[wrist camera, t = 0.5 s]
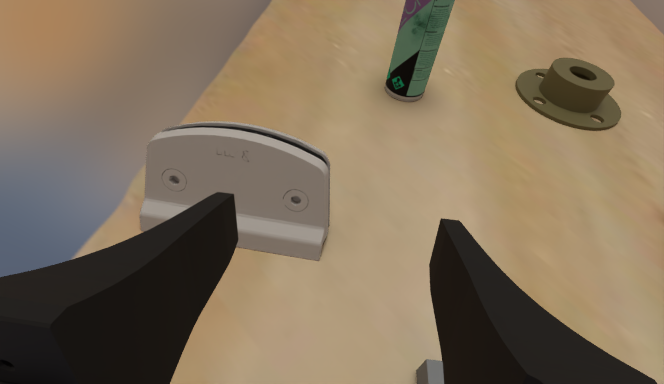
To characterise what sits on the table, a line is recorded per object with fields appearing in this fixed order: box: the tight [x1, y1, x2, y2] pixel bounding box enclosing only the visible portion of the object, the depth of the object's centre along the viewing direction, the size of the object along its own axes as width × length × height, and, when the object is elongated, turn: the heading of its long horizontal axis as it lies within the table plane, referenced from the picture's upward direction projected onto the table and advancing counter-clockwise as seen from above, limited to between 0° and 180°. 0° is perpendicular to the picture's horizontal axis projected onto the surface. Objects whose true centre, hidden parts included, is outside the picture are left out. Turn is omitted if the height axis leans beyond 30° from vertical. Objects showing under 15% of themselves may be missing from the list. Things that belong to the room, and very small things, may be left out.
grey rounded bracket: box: [140, 121, 330, 261], centre depth 33 cm, size 17×5×10 cm, turn 83°
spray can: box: [385, 0, 455, 102], centre depth 45 cm, size 6×6×20 cm
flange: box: [516, 58, 621, 131], centre depth 55 cm, size 5×15×15 cm
